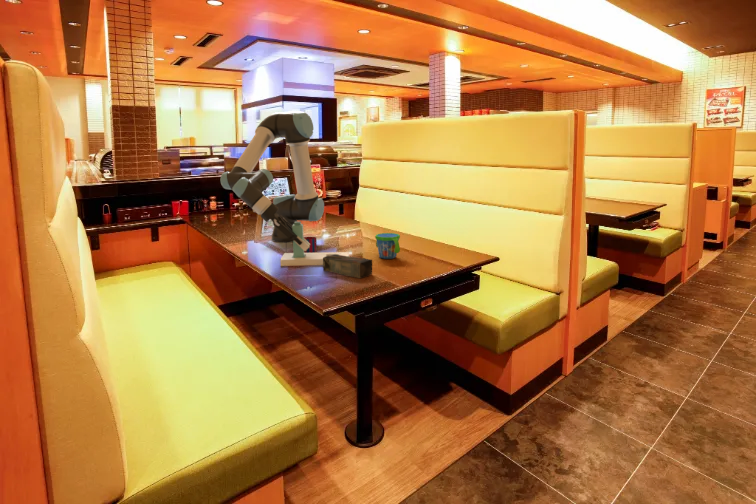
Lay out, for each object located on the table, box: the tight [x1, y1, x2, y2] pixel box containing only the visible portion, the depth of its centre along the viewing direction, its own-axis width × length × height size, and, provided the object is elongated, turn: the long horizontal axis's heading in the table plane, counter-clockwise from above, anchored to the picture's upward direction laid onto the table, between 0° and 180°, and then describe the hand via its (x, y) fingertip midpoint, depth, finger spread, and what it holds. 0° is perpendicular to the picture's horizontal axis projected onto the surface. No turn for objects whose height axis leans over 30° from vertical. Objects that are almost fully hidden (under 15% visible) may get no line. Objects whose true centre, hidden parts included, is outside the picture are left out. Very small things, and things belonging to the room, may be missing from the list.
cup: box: [304, 236, 318, 253], centre depth 221 cm, size 7×10×7 cm
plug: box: [292, 221, 305, 258], centre depth 200 cm, size 4×4×16 cm
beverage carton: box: [322, 254, 373, 279], centre depth 187 cm, size 8×19×7 cm, turn 55°
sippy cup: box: [374, 232, 401, 260], centre depth 210 cm, size 16×10×10 cm
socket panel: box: [280, 251, 350, 268], centre depth 203 cm, size 12×28×3 cm, turn 93°
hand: (307, 247), depth 201 cm, fingers closed on plug, 4 cm apart
